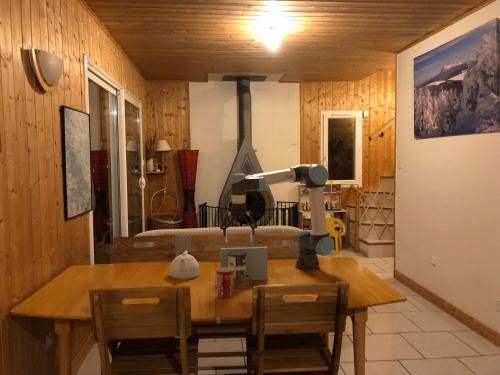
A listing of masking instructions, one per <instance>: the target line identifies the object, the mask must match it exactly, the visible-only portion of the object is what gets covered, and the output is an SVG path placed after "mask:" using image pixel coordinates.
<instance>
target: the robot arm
mask: <svg viewBox="0 0 500 375" xmlns="http://www.w3.org/2000/svg"><path fill="white" fill-rule="evenodd" d="M328 180H329V172H328V169H327V168H326V167H325V166H324V165H322V164H319V163H303V164H299V165H295V166H291V167H287V169H283V170H281V169H280V170H275V171H269V172H264V173H263V172H262V173H256V174H250V175H246V174H245V173H233V174H231V178H230V189H231V191H230V193H231V196H230V197H231V201H230V202H231V203H230V204H231V205H230V206H231V212H230V211H225V214H224V215H225V216H224V217H223V220H222V222H221V224H220V227H219V229H220V230H222V231H223V232H222V233H223V237H225V238H224V239H225V243H226V244H228V230H227V229H228V228H229V227H230V226H231V224H232V223H233V222H234V221H235V220H236V221H242V220H243V221H245V222H246V224H247V225H248V226H249V227H250V228H249V230H250V233H249V235H250V237H249V238H250V242H253V236H255V229H258V225H257V223H256V221H255V219H254V217H253V215H252V214H253V213H252V211H251V210H249V211H247V210H246V192H254V191H255V192H256V191H259V192H260V191H263V190H265V189H266V187H267V186H272V185H278V184H284V183H291V184H294V183H300V184H301V183H303V184H305V189H306V190H308V198H309V209H310V211H309V212H310V220H311V222H310V223H311V229H305V230H300V231H299V232H298V237H297V238H298V240H297V241H298V242H297V244H298V245H297V246H298V249H297V250H298V251H297V257H296V260H295V268H297V269H301V270H317V269H319V268H320V266H321V264H320V261H319V257H318V256H328V255H330V254H331V253H332V252H333V250H334V249H335V248H334V247H335V241H334V239H333V238H332V237H331V235H330V234H331V233H330V230H329V229H328V228H327V217H326V216H327V215H326V206H325V194H324V189H325V188H326V183H327V182H328ZM230 215H231V218H230V219H229V220H228V218H229V216H230ZM246 216H249V218H250V220H251V222H250V221H249V220H248V219H247V217H246ZM227 220H228V222H227ZM226 222H227V223H226Z"/></svg>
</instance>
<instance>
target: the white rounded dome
mask: <svg viewBox="0 0 500 375" xmlns="http://www.w3.org/2000/svg"><path fill="white" fill-rule="evenodd" d="M188 252H189V251H188V250H184V251H183V252H182V254H180V255H177V256H176V257H174V259H173V260H172V262H171V264H170V266H169V274H170V276H171V278H173V279H177V280H189V279H194V278H196V277H198V276H199V274H200V264H199V263H198V261H197V259H196V258H195V257H194V256H193V255H191V254H189V253H188Z"/></svg>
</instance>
